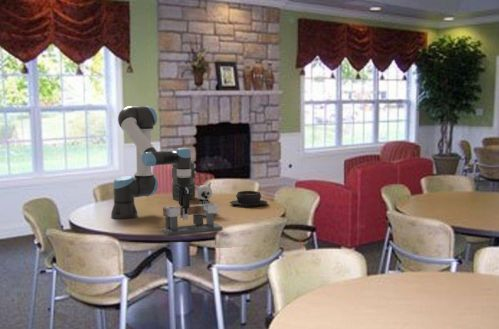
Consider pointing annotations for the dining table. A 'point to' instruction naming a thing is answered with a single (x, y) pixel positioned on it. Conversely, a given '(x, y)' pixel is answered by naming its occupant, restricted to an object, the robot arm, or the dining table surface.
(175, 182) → the canister
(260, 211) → the dining table surface
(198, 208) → the rail
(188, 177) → the robot arm
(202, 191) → the decorative figurine
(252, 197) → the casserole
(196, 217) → the rests
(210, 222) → the bracket stand
